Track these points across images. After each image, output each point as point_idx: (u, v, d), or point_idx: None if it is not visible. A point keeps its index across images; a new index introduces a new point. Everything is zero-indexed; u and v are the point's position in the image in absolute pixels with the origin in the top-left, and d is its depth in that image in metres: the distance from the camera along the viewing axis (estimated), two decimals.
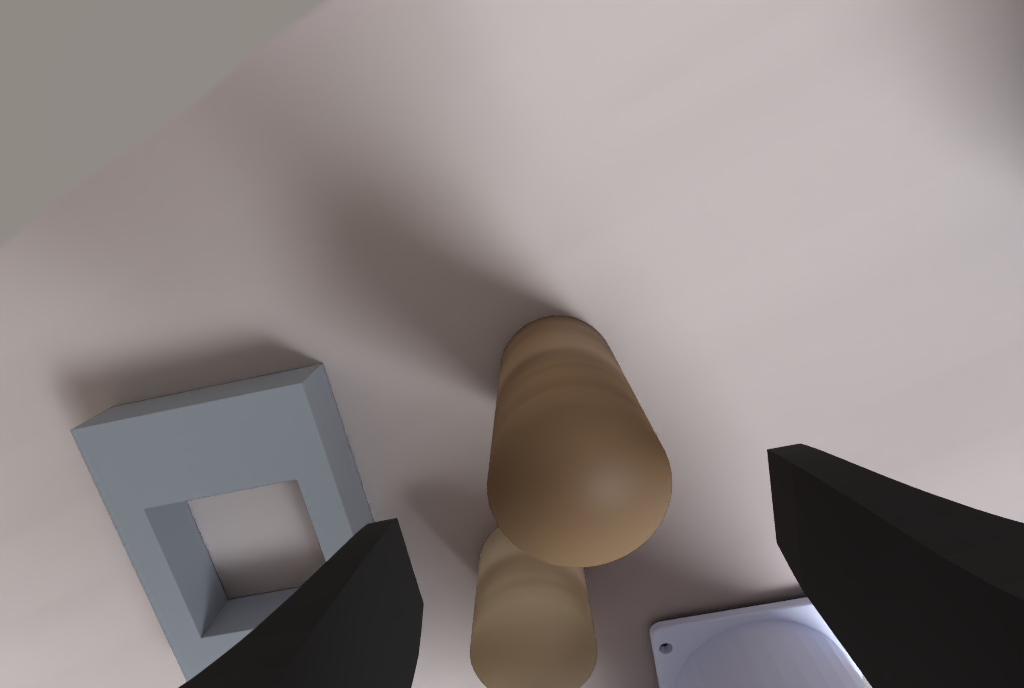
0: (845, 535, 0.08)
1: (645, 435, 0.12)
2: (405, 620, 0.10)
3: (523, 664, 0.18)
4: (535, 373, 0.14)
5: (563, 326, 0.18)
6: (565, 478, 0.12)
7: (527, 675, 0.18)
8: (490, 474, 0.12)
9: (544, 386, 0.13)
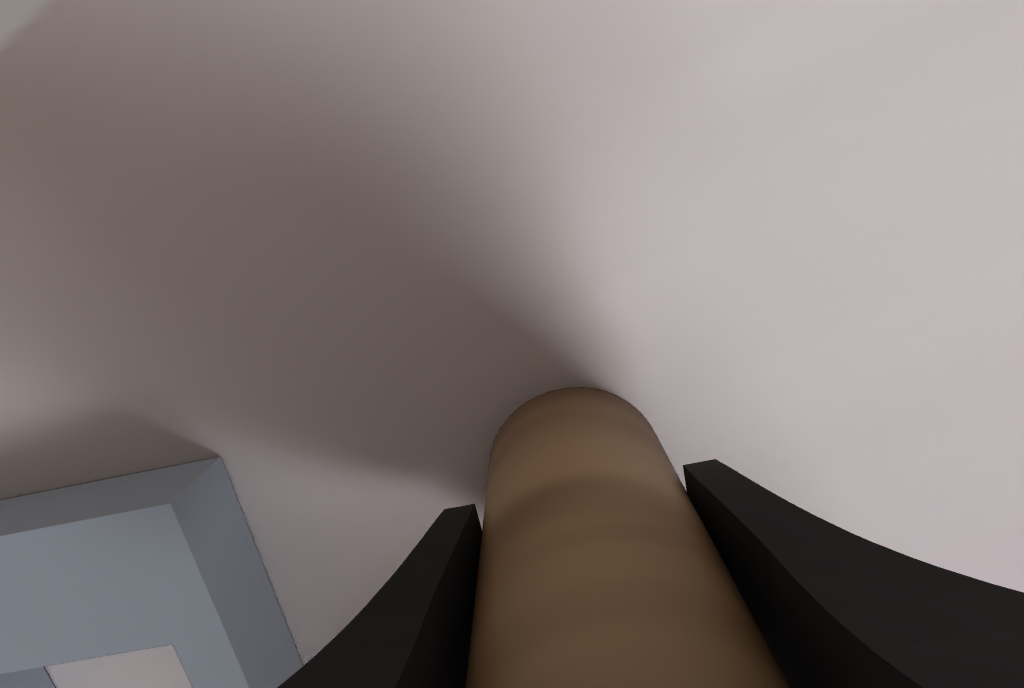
0: (738, 554, 0.08)
1: None
2: None
3: None
4: (550, 549, 0.07)
5: (589, 414, 0.11)
6: None
7: None
8: None
9: (571, 608, 0.06)
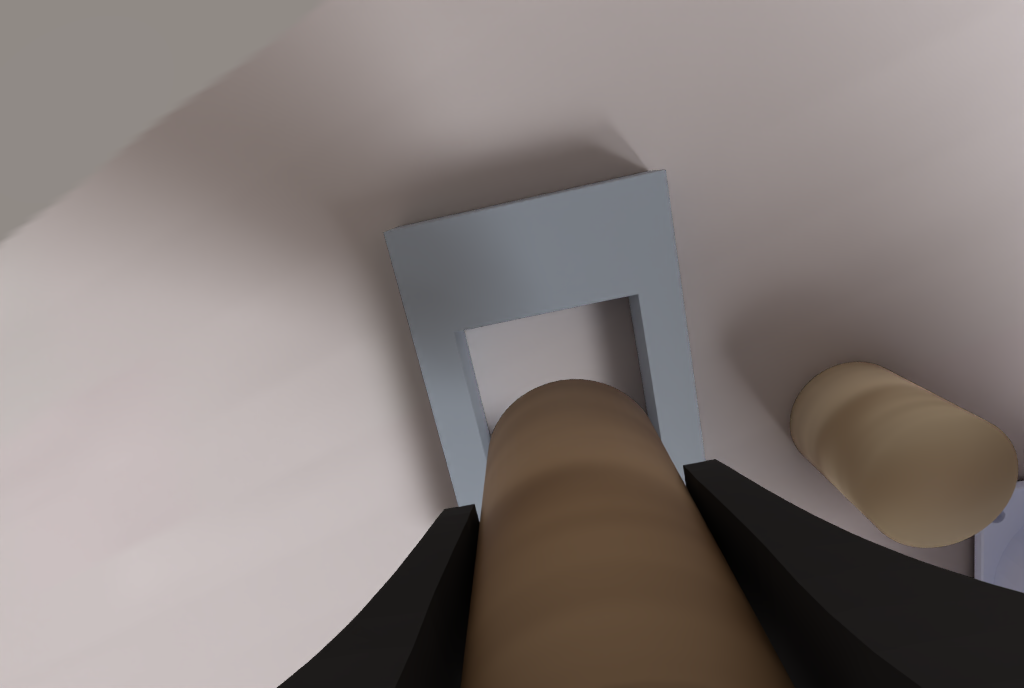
0: (737, 553, 0.08)
1: None
2: None
3: (926, 497, 0.15)
4: (549, 532, 0.08)
5: (589, 404, 0.11)
6: None
7: (927, 511, 0.16)
8: None
9: (570, 588, 0.06)
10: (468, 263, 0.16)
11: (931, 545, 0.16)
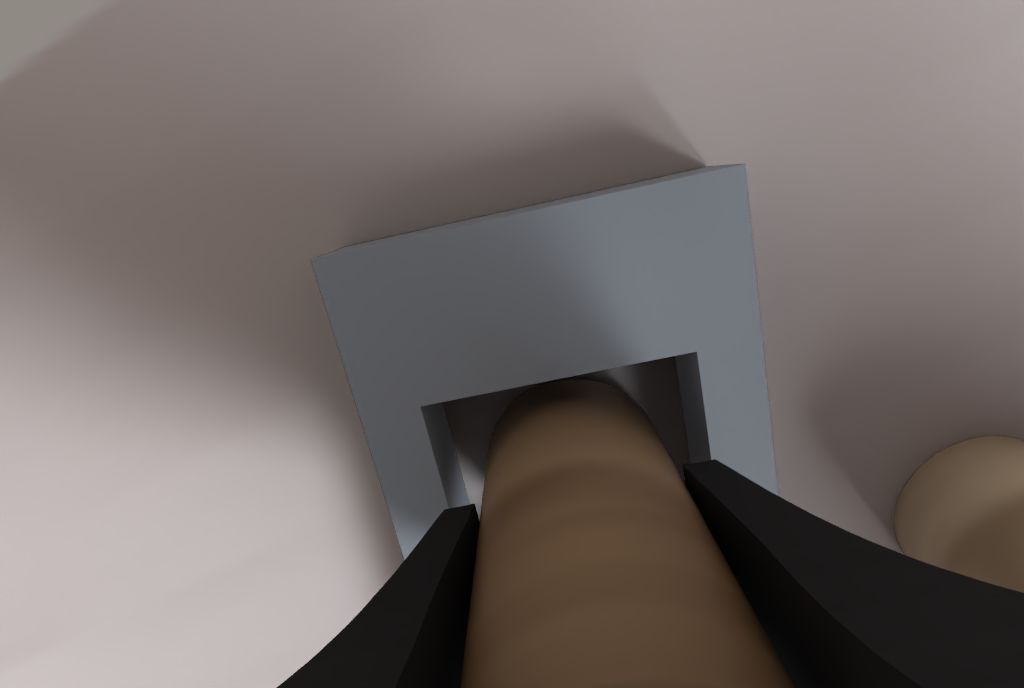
0: (737, 554, 0.08)
1: None
2: None
3: None
4: (549, 531, 0.08)
5: (589, 404, 0.11)
6: None
7: None
8: None
9: (571, 587, 0.06)
10: (440, 306, 0.11)
11: None
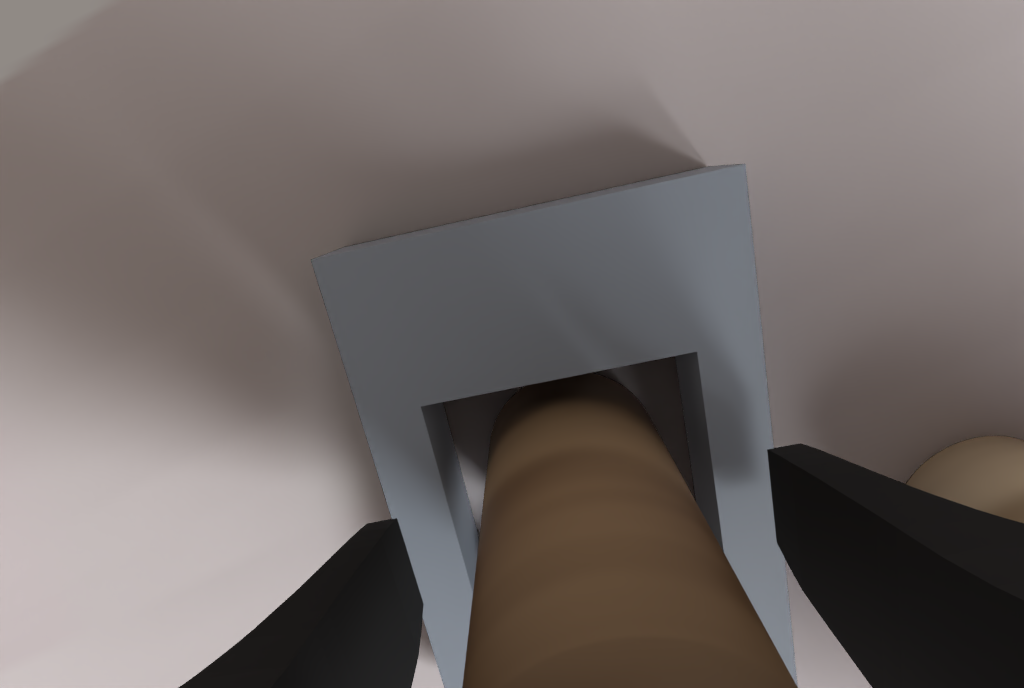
0: (845, 535, 0.08)
1: None
2: (405, 620, 0.10)
3: None
4: (549, 511, 0.08)
5: (587, 395, 0.12)
6: None
7: None
8: None
9: (569, 558, 0.07)
10: (441, 306, 0.11)
11: None
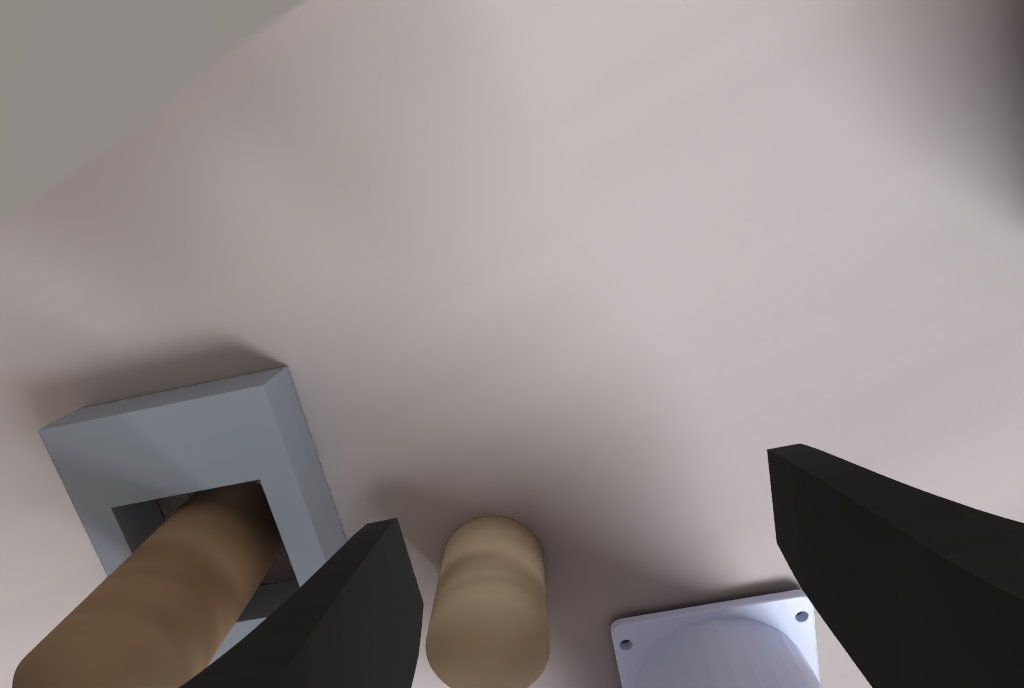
0: (845, 535, 0.08)
1: (136, 665, 0.14)
2: (405, 620, 0.10)
3: (478, 659, 0.19)
4: (110, 578, 0.17)
5: (214, 499, 0.20)
6: None
7: (482, 670, 0.19)
8: None
9: (88, 604, 0.16)
10: (113, 454, 0.19)
11: None
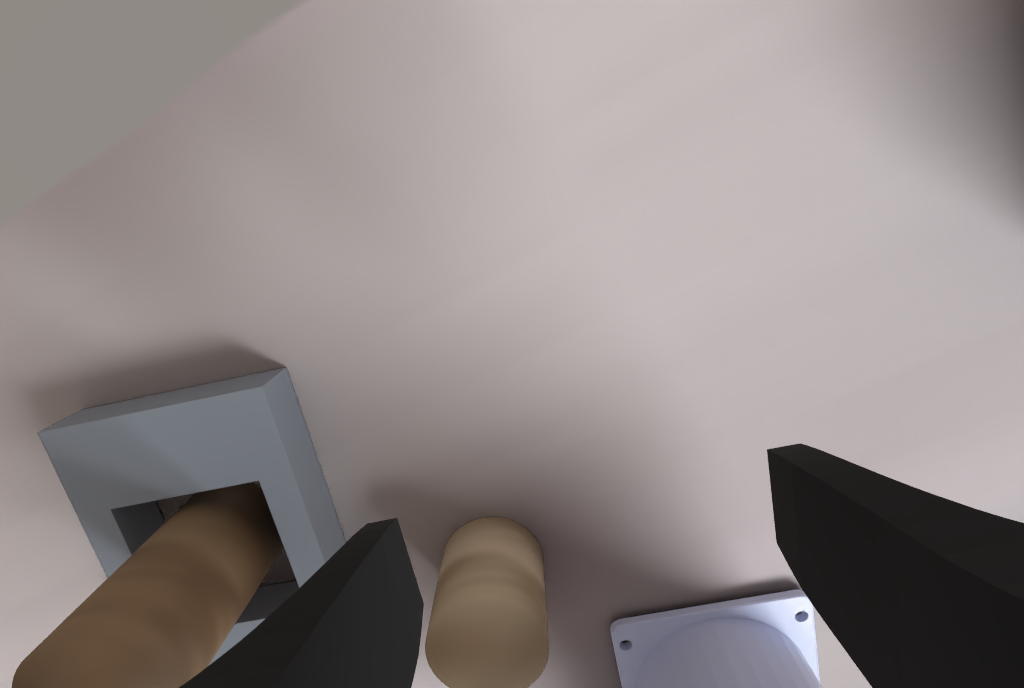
0: (845, 535, 0.08)
1: (135, 667, 0.14)
2: (405, 620, 0.10)
3: (477, 660, 0.19)
4: (110, 580, 0.17)
5: (213, 500, 0.20)
6: None
7: (481, 671, 0.19)
8: None
9: (86, 606, 0.16)
10: (112, 456, 0.19)
11: None
